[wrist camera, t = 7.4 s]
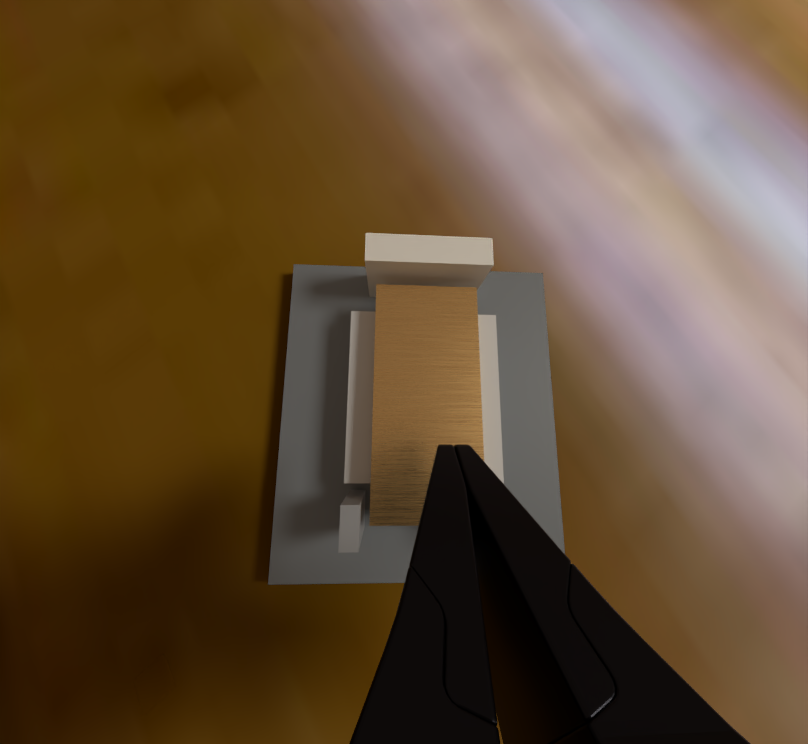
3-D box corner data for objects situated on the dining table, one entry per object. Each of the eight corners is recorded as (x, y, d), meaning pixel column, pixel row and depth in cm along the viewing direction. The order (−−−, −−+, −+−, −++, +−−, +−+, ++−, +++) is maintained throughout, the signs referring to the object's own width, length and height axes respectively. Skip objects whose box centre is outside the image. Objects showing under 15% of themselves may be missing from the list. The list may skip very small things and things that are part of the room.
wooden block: (486, 525, 13) (476, 287, 16) (369, 525, 13) (376, 284, 15) (480, 519, 14) (471, 296, 17) (370, 519, 14) (376, 293, 16)
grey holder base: (556, 571, 17) (625, 628, 12) (275, 575, 16) (226, 638, 11) (535, 280, 20) (583, 232, 15) (298, 273, 19) (268, 219, 14)
